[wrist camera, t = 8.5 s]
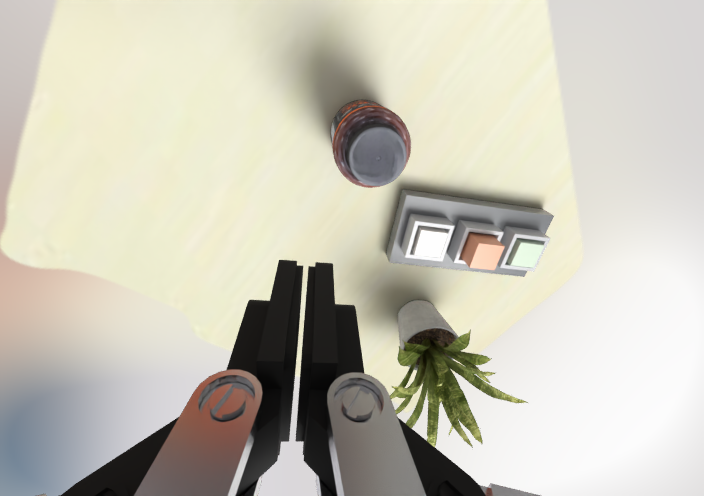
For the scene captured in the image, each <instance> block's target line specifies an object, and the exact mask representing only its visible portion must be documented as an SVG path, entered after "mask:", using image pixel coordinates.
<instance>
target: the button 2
mask: <svg viewBox="0 0 704 496" xmlns="http://www.w3.org/2000/svg"><path fill="white" fill-rule="evenodd" d="M504 247H505V246H504V245H503V244H502V243H501V242H499V241H498V240H497V239H496V238H495V237H494V236H493V235H485V234H477V233H468V236H467V238H466V241H465V244H464V246H463V249H462V252H461V254H460V256H461V257H462V259H463V260H464V261H465V263H466V264H467V265H468V266H469V268H478V269H487V270H495V268H496V266H497V263H498V261H499V259H500V257H501V254H502V252H503V250H504Z"/></svg>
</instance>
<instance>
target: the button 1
mask: <svg viewBox="0 0 704 496" xmlns="http://www.w3.org/2000/svg"><path fill="white" fill-rule="evenodd" d="M447 235H448V233H447V232H446V231H445V229H444V228H437V227H429V226H421V225H418V228H417V231H416V234H415V238H414V241H413V245H412V248H411V249H412V251H413V253H414V255H421V256H430V257H439V258H440V255H441V253H442V250H443V247H444V244H445V241H446V238H447Z"/></svg>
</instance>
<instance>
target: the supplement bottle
mask: <svg viewBox="0 0 704 496" xmlns="http://www.w3.org/2000/svg"><path fill="white" fill-rule="evenodd" d="M331 140H332V147H333V154H334V159H335V162H336V164H337V166H338V168H339V170H340V171H341V173H342V174H343V175H344V176H345V177H346V178H347V179H348V180H349V181H351V182H352V183H354V184H356V185H359V186H362V187H368V188H373V187H380V186H383V185H386V184H388V183H390V182H392V181H394V180H395V179H396V178H397V177H398V176H399V175H400V174H401V172H402V171H403V170H404V168H405V166H406V164H407V162H408V159H409V157H410V151H411V141H410V135H409V132H408V130H407V128H406V126H405V124H404V123H403V121H402V120H401V119H400V117H399V116H398V115H396V114H395V113H393V112H392V111H390V110H389V109H387V108H385V107H383V106H381V105H379V104H377V103H375V102H373V101H368V100H356V101H353V102H350V103H348V104H346V105H345V106H344V107H342V108H341V109H340V110H339V112H338V113H337V114H336V116H335V118H334V120H333V123H332V127H331Z"/></svg>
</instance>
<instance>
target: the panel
mask: <svg viewBox="0 0 704 496" xmlns="http://www.w3.org/2000/svg"><path fill="white" fill-rule="evenodd" d="M553 217H554V216H553V215H552V214H550V213H548V212H547V211H545V210H543V209H537V208H530V207H523V206H517V205H510V204H503V203H496V202H489V201H482V200H475V199H468V198H461V197H454V196H447V195H440V194H433V193H426V192H419V191H412V190H405V189H402V192H401V196H400V200H399V204H398V208H397V212H396V216H395V220H394V224H393V228H392V232H391V236H390V240H389V244H388V248H387V252H386V255H387V258H388V260H389V262H390V263H399V264H409V265H418V266H428V267H437V268H447V269H456V270H466V271H475V272H485V273H494V274H504V275H513V276H523V277H524V276H525V274H526V272H527V271H534V270H535V268H536V266H537V264H538V262H539V260H540V258H541V256H542V254H543V252H544V250H545V248H546V246H547V244H548V242H549V240H550V238H549V237H548V236H546V235H545V233H546V231H547V229H548V227H549V225H550V223H551V221H552V219H553ZM418 225H421V226H429V227H437V228H444V229H445V231H446V232H447V233H448V235H447V238H446V241H445V244H444V247H443V250H442V253H441V255H440V258H439V257H430V256H421V255H414V253H413V251H412V249H411V248H412V245H413V241H414V238H415V234H416V231H417V228H418ZM468 233H477V234H485V235H493V236H494V237H495V238H496V239H497V240H498V241H499V242H501V243H502V244H503V245H504V246H505V247H504V250H503V252H502V254H501V257H500V259H499V261H498V263H497V266H496V268H495V270H487V269H478V268H469V266H468V265H467V264H466V263H465V261H464V260H463V259H462V257H461V256H460V254H461V252H462V249H463V246H464V244H465V241H466V238H467V236H468ZM517 238H524V239H532V240H538V241H539V242H541V243H542V244H543V245H545V246H544V248H543V250H542V252H541V254H540V256H539V258H538V260H537V262H536V264H535V266H534V268H530V267H521V266H512V265H510V264H509V263H508V262H507V259H508V257H509V254H510V252H511V250H512V248H513V245H514V243H515V241H516V239H517Z"/></svg>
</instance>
